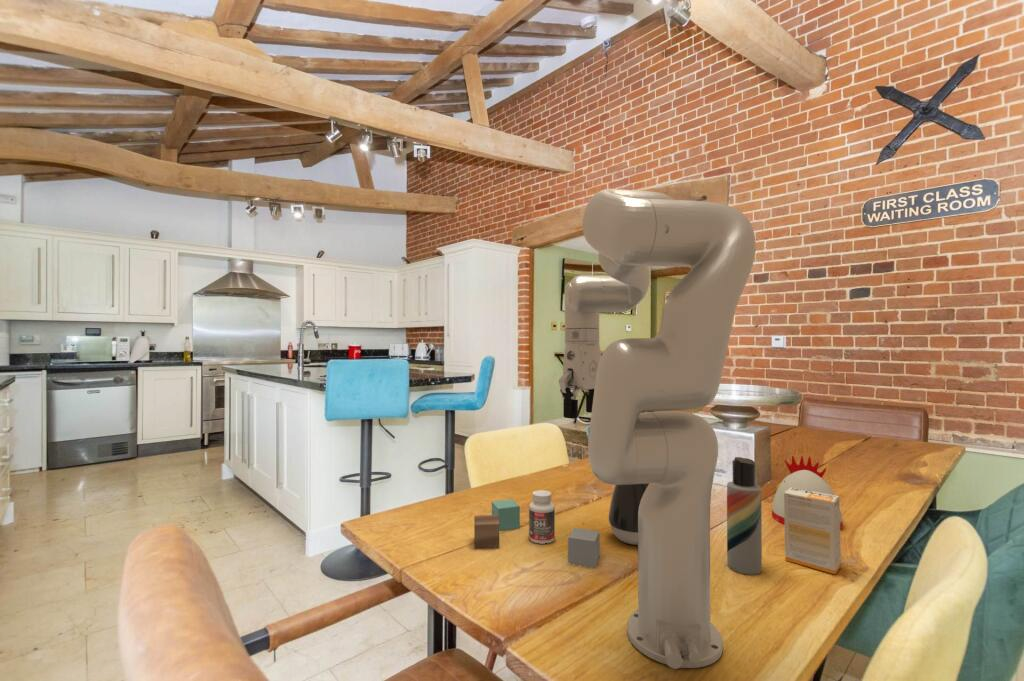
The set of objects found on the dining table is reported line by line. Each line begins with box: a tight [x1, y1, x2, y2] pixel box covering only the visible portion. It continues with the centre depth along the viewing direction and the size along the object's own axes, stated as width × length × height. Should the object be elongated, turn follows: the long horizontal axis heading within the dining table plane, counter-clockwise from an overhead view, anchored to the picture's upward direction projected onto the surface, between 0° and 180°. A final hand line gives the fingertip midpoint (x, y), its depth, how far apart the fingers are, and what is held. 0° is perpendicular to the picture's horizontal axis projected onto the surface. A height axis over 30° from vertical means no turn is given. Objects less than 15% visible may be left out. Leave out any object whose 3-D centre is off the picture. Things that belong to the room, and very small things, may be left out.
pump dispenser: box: [608, 483, 649, 546], centre depth 99 cm, size 10×10×15 cm
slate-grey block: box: [567, 527, 601, 569], centre depth 90 cm, size 5×5×5 cm
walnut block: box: [473, 514, 500, 550], centre depth 98 cm, size 5×5×5 cm
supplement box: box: [784, 487, 842, 575], centre depth 88 cm, size 8×5×13 cm, turn 44°
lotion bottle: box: [726, 456, 763, 575], centre depth 87 cm, size 6×6×20 cm
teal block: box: [491, 498, 521, 532], centre depth 107 cm, size 5×5×5 cm
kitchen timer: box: [771, 455, 844, 531], centre depth 110 cm, size 14×14×15 cm
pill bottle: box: [528, 489, 556, 545], centre depth 99 cm, size 5×5×10 cm
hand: (582, 415), depth 104 cm, fingers open, 9 cm apart
